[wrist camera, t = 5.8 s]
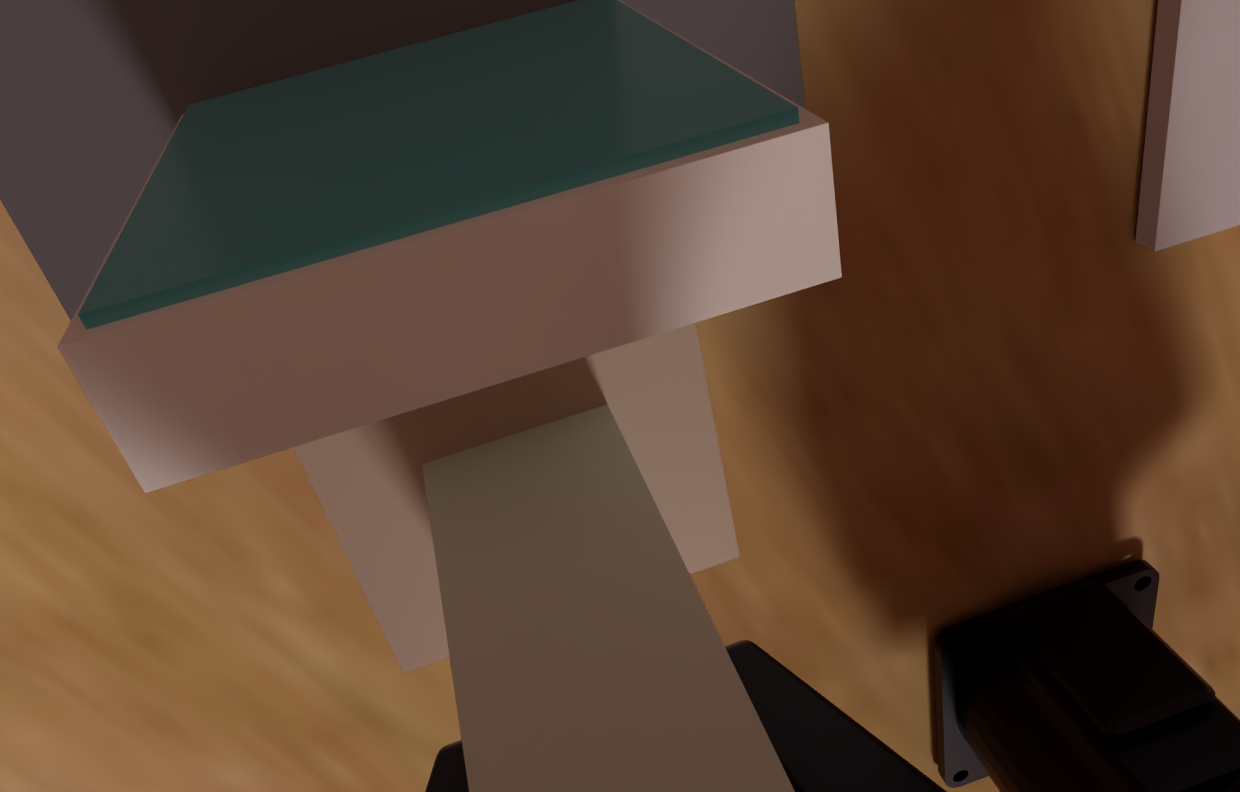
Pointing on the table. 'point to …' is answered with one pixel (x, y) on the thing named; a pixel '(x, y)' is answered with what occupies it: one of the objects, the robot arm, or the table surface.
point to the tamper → (560, 571)
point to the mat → (234, 86)
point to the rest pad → (1192, 124)
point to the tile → (441, 232)
